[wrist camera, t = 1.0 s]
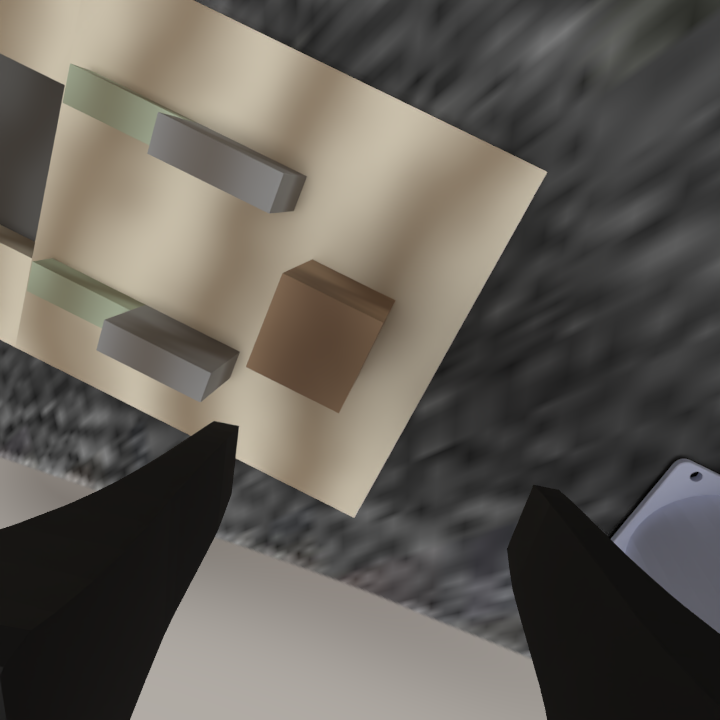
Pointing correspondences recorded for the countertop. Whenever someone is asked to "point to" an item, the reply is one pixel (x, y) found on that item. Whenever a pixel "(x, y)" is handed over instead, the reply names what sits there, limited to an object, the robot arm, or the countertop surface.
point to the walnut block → (319, 333)
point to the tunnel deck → (231, 223)
